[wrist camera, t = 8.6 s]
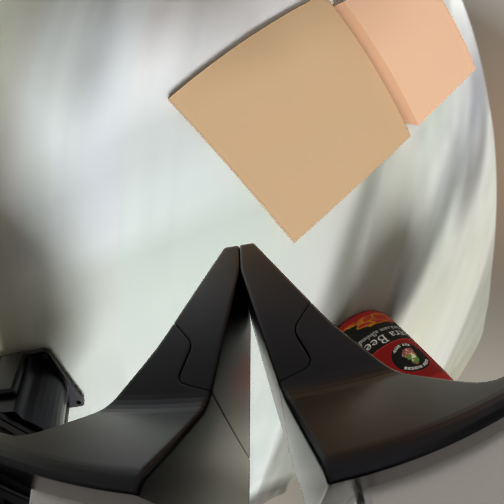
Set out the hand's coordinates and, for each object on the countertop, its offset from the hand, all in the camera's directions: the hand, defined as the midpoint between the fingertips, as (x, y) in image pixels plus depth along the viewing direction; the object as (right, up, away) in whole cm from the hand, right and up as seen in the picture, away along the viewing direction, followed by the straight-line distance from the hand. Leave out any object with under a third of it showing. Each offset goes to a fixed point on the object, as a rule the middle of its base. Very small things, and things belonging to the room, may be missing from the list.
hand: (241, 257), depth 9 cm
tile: (+9, +13, +8) cm, 17 cm away
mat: (+4, +9, +9) cm, 13 cm away
